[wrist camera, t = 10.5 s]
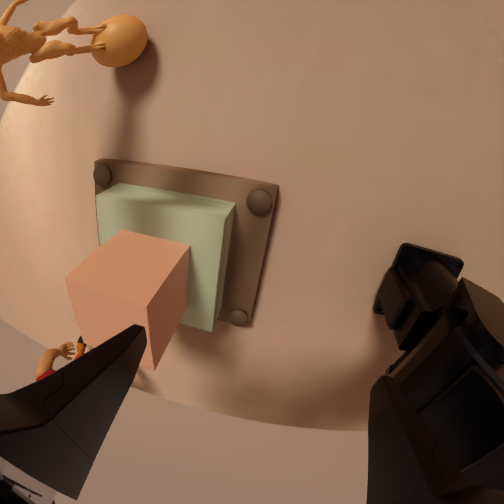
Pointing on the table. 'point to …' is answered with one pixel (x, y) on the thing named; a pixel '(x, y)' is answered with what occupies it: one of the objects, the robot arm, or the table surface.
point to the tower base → (244, 224)
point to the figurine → (102, 44)
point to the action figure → (50, 355)
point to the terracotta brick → (131, 290)
